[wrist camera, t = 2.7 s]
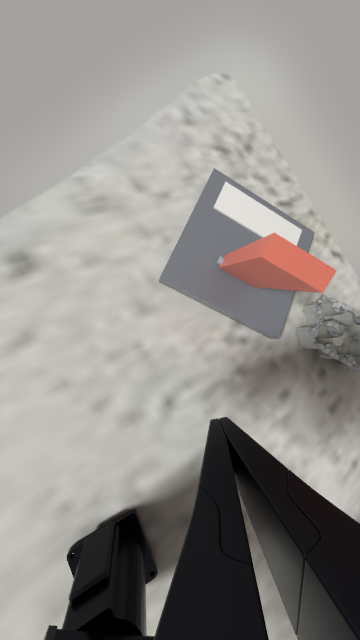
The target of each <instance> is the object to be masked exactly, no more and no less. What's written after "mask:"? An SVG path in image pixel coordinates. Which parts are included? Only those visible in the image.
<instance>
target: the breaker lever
mask: <svg viewBox="0 0 360 640" xmlns="http://www.w3.org/2000/svg"><path fill="white" fill-rule="evenodd" d="M216 263H217V264H219V265H220V266H219V268H220V269H222V270H224V271H225V272H227V273H229V274H231V275H233V276H235V277H236V278H238V279H240V280H242V281H244V282H245V283H247V284H249V285H251V286H253V287H256V288H269V289H282V290H294V291H307V292H320V293H323V291H324V290H325V288H326V287H327V285H328V283H329V282H330V280H331V279H332V277H333V276H334V274H335V272H336V270H335V269H333V268H331V267H330V266H328V265H327V264H325V263H323V262H322V261H320V260H318V259H317V258H315V257H314V256H312V255H310V254H309V253H307V252H305V251H304V250H302V249H301V248H299V247H297V246H296V245H294V244H292V243H291V242H289V241H288V240H286V239H284V238H283V237H281V236H279V235H278V234H276V233H275V232H274V233H272V234H270V235H268V236H266V237H263V238H261V239H259V240H257V241H255V242H252V243H250V244H248V245H246V246H244V247H241V248H239V249H237V250H235V251H233V252H230V253H228V254H226V255H225V256H224V257H222V256H219V257H218V259H217V261H216Z"/></svg>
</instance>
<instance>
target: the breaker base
mask: <svg viewBox="0 0 360 640" xmlns="http://www.w3.org/2000/svg"><path fill="white" fill-rule="evenodd" d="M274 232H275V233H276V234H278V235H279V236H281V237H283V238H284V239H286V240H288V241H289V242H291V243H292V244H294V245H296V246H297V247H299V248H301V249H302V250H304V251H305V252H307V253H308V250H309V247H310V244H311V241H312V238H313V235H314V232H313V231H312V230H310V229H309V228H307V227H305V226H304V225H302V224H301V223H299V222H298V221H296V220H294V219H293V218H291V217H290V216H288V215H287V214H285V213H284V212H282V211H280V210H279V209H277V208H276V207H274V206H273V205H271V204H270V203H268V202H266V201H265V200H263V199H262V198H260V197H259V196H257V195H255V194H254V193H252V192H251V191H249V190H248V189H246V188H245V187H243V186H241V185H240V184H238V183H237V182H235V181H234V180H232V179H230V178H229V177H227V176H226V175H224V174H223V173H221V172H220V171H218V170H216V169H215V168H214V170H213V172H212V174H211V176H210V178H209V180H208V182H207V184H206V186H205V188H204V190H203V192H202V194H201V196H200V198H199V200H198V202H197V204H196V206H195V208H194V210H193V212H192V214H191V216H190V218H189V220H188V222H187V224H186V226H185V228H184V230H183V232H182V234H181V236H180V238H179V240H178V242H177V244H176V246H175V248H174V251H173V253H172V255H171V257H170V259H169V261H168V263H167V265H166V267H165V269H164V271H163V273H162V275H161V277H160V279H159V282H160V283H162V284H164V285H166V286H168V287H170V288H172V289H174V290H176V291H178V292H180V293H182V294H184V295H186V296H188V297H190V298H192V299H194V300H196V301H197V302H199V303H201V304H203V305H205V306H207V307H209V308H211V309H213V310H215V311H217V312H219V313H221V314H223V315H225V316H227V317H229V318H231V319H233V320H235V321H237V322H239V323H241V324H243V325H245V326H247V327H249V328H251V329H253V330H255V331H257V332H259V333H261V334H263V335H264V336H266V337H268V338H270V339H279V337H280V334H281V331H282V328H283V325H284V322H285V319H286V316H287V313H288V310H289V307H290V304H291V301H292V298H293V295H294V292H295V291H294V290H282V289H269V288H256V287H253V286H251V285H249V284H247V283H245V282H244V281H242V280H240V279H238V278H236V277H235V276H233V275H231V274H229V273H227V272H225V271H224V270H222V269H220V268H219V266H220V265H219V264H217V263H216V261H217V259H218V257H219V256H222V257H224V256H225V255H226V254H228V253H230V252H233V251H235V250H237V249H239V248H241V247H244V246H246V245H248V244H250V243H252V242H255V241H257V240H259V239H261V238H263V237H266V236H268V235H270V234H272V233H274Z"/></svg>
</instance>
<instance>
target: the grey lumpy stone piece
mask: <svg viewBox="0 0 360 640" xmlns="http://www.w3.org/2000/svg"><path fill="white" fill-rule="evenodd" d="M302 313H303V314H304V315H305V316H306V325H305V326H304V327H297V329H296V332H295V334H296V335H297V336H298V338H299V341H300V346H301V347H303V348H305V349H319V356H321V357H323V358H327V359H337V360H338V365H339V366H341V367H343V368H351V369H354V370H357V371H359V372H360V311H359V310H355V309H353V308H351V307H349V306H347V305H346V304H345V303H343V302H339V301H336V300H332V299H330V298H326V296H324V295H322V298H321V299H319V300H318V302H312V304H311V305H306V306H303V309H302ZM322 315H323V316H333V315H336V320H337V321H335V320H327V321H324V320H325V318H322ZM350 325H353V326H354V331H355V332H356V334H357V335H358V337H357V341H351V342H350V344H349V352H350V354H338V353H337V350H338V348H335V347H341V346H342V345H343V343H344V338H343V333H344V331H346V330H347V328H348V327H347V326H350ZM316 337H317V338H331V342H332V344H330V343H328V344H323V343H317V342H316ZM351 355H352V356H353V357H352V356H351Z"/></svg>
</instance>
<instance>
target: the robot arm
mask: <svg viewBox="0 0 360 640" xmlns="http://www.w3.org/2000/svg"><path fill="white" fill-rule="evenodd" d="M236 484H237V485H236ZM237 487H238V490H239V492H240V495H241V497H242V500H243V502H244V505H245V507H246V510H247V512H248V515H249V517H250V520H251V522H252V525H253V527H254V530H255V533H256V535H257V538H258V540H259V543H260V545H261V548H262V550H263V553H264V555H265V558H266V560H267V563H268V565H269V568H270V571H271V573H272V576H273V578H274V581H275V583H276V586H277V588H278V591H279V593H280V596H281V598H282V601H283V603H284V606H285V608H286V611H287V614H288V616H289V619H290V621H291V624H292V626H293V629H294V631H295V634H296V635H297V639H298V640H360V523H358V522H357V521H355V520H354V519H353V518H351V517H350V516H348V515H347V514H346V513H344V512H343V511H342V510H340V509H339V508H337V507H336V506H335V505H333V504H332V503H331V502H329V501H328V500H327V499H325V498H324V497H323V496H321V495H320V494H319V493H317V492H316V491H315V490H313V489H312V488H311V487H310V486H308V485H307V484H306V483H305V482H303V481H302V480H301V479H300V478H299V477H297V476H296V475H295V474H294V473H293V472H291V471H290V470H288V469H287V468H286V467H285V466H284V465H283V464H282V463H280V462H279V461H278V460H277V459H276V458H275V457H273V456H272V455H271V454H270V453H269V452H268V451H266V450H265V449H264V448H263V447H262V446H260V445H259V444H258V443H257V442H256V441H255V440H253V439H252V438H251V437H250V436H249V435H248V434H246V433H245V432H244V431H243V430H242V429H240V428H239V427H238V426H237V425H236V424H235V423H233V422H232V421H231V420H230V419H229V418H227V417H223V418H220V419H212V420H211V421H210V425H209V431H208V436H207V441H206V447H205V452H204V458H203V463H202V468H201V474H200V479H199V486H198V489H197V494H196V499H195V503H194V508H193V512H192V516H191V520H190V523H189V527H188V530H187V534H186V537H185V540H184V543H183V547H182V550H181V553H180V556H179V560H178V563H177V566H176V569H175V572H174V576H173V579H172V582H171V585H170V589H169V592H168V595H167V598H166V602H165V605H164V608H163V611H162V614H161V618H160V621H159V624H158V627H157V631H156V634H155V636H147V635H146V584H147V583H149V582H150V581H151V580H153V579H154V578H155V577H156V576H157V565H156V562H155V559H154V557H153V554H152V551H151V549H150V546H149V543H148V541H147V538H146V535H145V533H144V530H143V527H142V525H141V522H140V519H139V516H138V514H137V512H136V511H135V510H131V511H129V512H127V513H126V514H124V515H122V516H121V517H119V518H118V519H116V520H114V521H113V522H111V523H109V524H107V525H106V526H104V527H102V528H101V529H99V530H97V531H96V532H94V533H92V534H91V535H89V536H88V537H86V538H85V539H83V540H81V541H80V542H78V543H76V544H75V545H73V546H72V547H71V548H70V549H69V552H68V554H67V561H68V564H69V566H70V569H71V572H72V575H73V577H74V581H73V585H72V588H71V592H70V595H69V605H68V608H67V612H66V616H65V620H64V623H63V627H62V629H57V626H51V625H49V627H48V629H47V632H46V635H45V638H44V640H269V639H268V635H267V630H266V625H265V620H264V615H263V610H262V606H261V601H260V596H259V591H258V586H257V581H256V577H255V572H254V568H253V562H252V557H251V553H250V548H249V543H248V538H247V533H246V528H245V524H244V519H243V514H242V509H241V504H240V499H239V495H238V490H237ZM132 516H133V517H134V518H130V517H132ZM72 553H75V554H72ZM151 571H152V572H151Z"/></svg>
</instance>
